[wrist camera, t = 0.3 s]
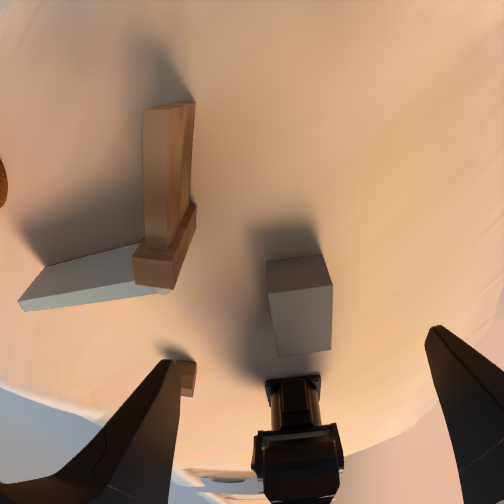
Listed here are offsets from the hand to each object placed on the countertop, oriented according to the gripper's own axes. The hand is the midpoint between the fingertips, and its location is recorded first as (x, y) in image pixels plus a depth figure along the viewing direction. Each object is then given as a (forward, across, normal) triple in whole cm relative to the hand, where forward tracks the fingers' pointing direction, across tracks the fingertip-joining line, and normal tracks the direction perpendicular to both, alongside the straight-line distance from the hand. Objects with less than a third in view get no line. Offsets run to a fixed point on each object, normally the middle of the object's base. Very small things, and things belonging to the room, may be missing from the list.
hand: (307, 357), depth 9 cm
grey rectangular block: (+13, -1, +8) cm, 15 cm away
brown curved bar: (+13, +9, +5) cm, 16 cm away
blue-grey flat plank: (+13, +15, +2) cm, 20 cm away
